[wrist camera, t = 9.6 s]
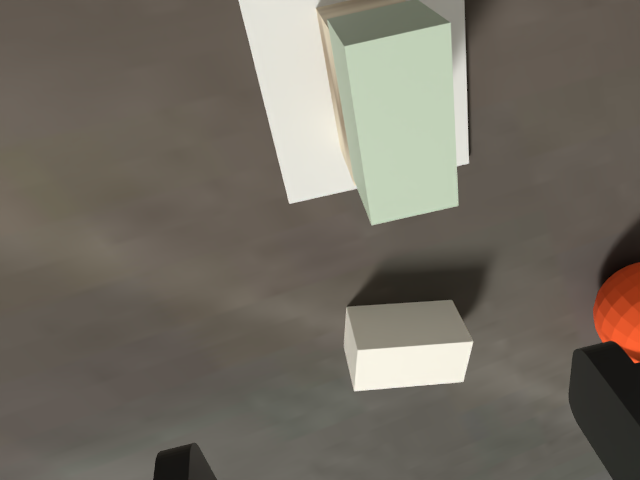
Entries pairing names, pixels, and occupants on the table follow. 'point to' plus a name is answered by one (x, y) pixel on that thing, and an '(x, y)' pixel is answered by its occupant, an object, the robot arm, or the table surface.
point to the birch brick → (356, 3)
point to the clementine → (620, 310)
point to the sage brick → (398, 108)
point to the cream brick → (406, 344)
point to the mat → (322, 91)
